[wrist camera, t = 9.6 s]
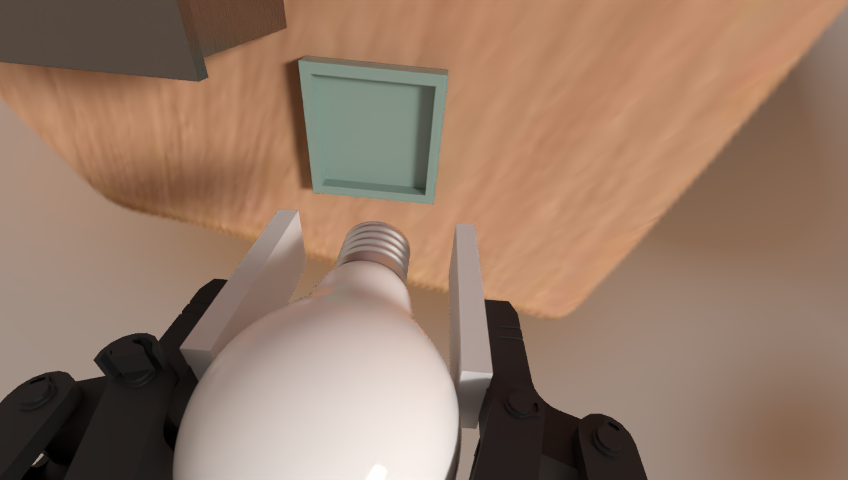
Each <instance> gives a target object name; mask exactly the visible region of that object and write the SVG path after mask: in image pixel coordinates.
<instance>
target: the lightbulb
mask: <svg viewBox="0 0 848 480" xmlns="http://www.w3.org/2000/svg"><path fill="white" fill-rule="evenodd" d="M409 258H410V245H409V242H408V240H407V238H406V237H405V236H404V234H403V233H402V232H401V231H399V230H398V229H397V228H395V227H393V226H391V225H389V224H386V223H383V222H374V221H373V222H365V223H361V224H359V225H357V226H355V227H354V228H352V229H351V230H350V231H349V233H348V234H347V236H346V238H345V241H344V243H343V246H342V248H341V251H340V253H339V256H338V259H337V261H336V263H335V266H334V268H333V270H331V271H330V272H329V273H327V274H326V275H325V276H324V277H323V278H322V279H321V280H320V281H319V282H318V284H317V285H316V286H315V288H314V289H313V290H312V292H311V293H310V294H309V295H307V296H305V297H303V298H300V299H298V300H295V301H293V302H290V303H288V304H286V305H284V306H281V307H279V308H277V309H275V310H273V311H271V312H270V313H268V314H266V315H264V316H263V317H261V318H259V319H258V320H256V321H255V322H253V323H252V324H250V325H249V326H248V327H246V328H245V329H244V330H243V331H241V332H240V333H239V334H238V335H237V336H236V337H234V338H233V339H232V340H231V341H230V342H229V343H228V344H227V345H226V346H225V347H224V348H223V349H222V351H221V352H220V353H219V354H218V355H217V356H216V358H215V359H214V360H213V361H212V363H211V364H210V365H209V367H208V368H207V369H206V371H205V372H204V374H203V375H202V377H201V379H200V380H199V382H198V384H197V385H196V387H195V389H194V391H193V393H192V395H191V397H190V399H189V401H188V404H187V406H186V409H185V411H184V414H183V417H182V420H181V423H180V426H179V430H178V434H177V438H176V443H175V449H174V457H173V473H172V479H173V480H456V477H457V472H458V467H459V462H460V454H461V441H462V428H461V415H460V408H459V402H458V397H457V393H456V390H455V386H454V383H453V380H452V378H451V375H450V373H449V370H448V368H447V366H446V364H445V362H444V360H443V358H442V357H441V355H440V353H439V352H438V350H437V348H436V347H435V345H434V344H433V343H432V341H431V340H430V339H429V337H428V336H427V335H426V333H425V332H424V331H423V330H422V329H421V327H420V326H419V325H418V324H417V323H416V321H415V320H414V317H413V311H412V304H411V299H410V296H409V293H408V291H407V288H406V279H407V272H408V265H409Z"/></svg>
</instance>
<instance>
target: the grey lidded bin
mask: <svg viewBox="0 0 848 480" xmlns="http://www.w3.org/2000/svg"><path fill="white" fill-rule="evenodd" d="M285 28H287V27H286V19H285V11H284V3H283V0H0V62H7V63H17V64H27V65H37V66H47V67H57V68H67V69H77V70H87V71H97V72H107V73H117V74H127V75H137V76H147V77H158V78H168V79H178V80H188V81H198V82H199V81H201V80H203V79H206V78H208V74H207V70H206V66H205V63H204V59H203V57H206V56H209V55H211V54H214V53H217V52H220V51H223V50H225V49H228V48H231V47H234V46H237V45H240V44H242V43H245V42H248V41H251V40H254V39H256V38H259V37H262V36H265V35H268V34H270V33H273V32H276V31H279V30H282V29H285Z"/></svg>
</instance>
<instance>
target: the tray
mask: <svg viewBox="0 0 848 480" xmlns="http://www.w3.org/2000/svg"><path fill="white" fill-rule="evenodd" d="M298 64H299V73H300V81H301V90H302V99H303V107H304V116H305V124H306V133H307V142H308V150H309V159H310V168H311V176H312V185H313V193H322V194H332V195H343V196H353V197H363V198H373V199H384V200H394V201H404V202H414V203H425V204H434V196H435V187H436V179H437V170H438V161H439V152H440V144H441V135H442V126H443V117H444V109H445V100H446V91H447V82H448V70H443V69H433V68H423V67H413V66H403V65H393V64H383V63H374V62H364V61H354V60H344V59H334V58H324V57H314V56H305V57H303V58H301V59H300V60H298Z"/></svg>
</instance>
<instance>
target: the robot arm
mask: <svg viewBox="0 0 848 480" xmlns="http://www.w3.org/2000/svg"><path fill="white" fill-rule="evenodd" d="M306 265H307V261H306V255H305V249H304V243H303V237H302V231H301V225H300V219H299V213H298V211H295V210H283V209H279V210H278V211H277V213H276V214H275V215H274V217H273V218H272V220H271V221H270V222H269V224H268V225H267V226H266V228H265V229H264V231H263V232H262V233H261V235H260V236H259V238H258V239H257V240H256V242H255V243H254V245H253V246H252V247H251V249H250V250H249V252H248V253H247V255H246V256H245V257H244V259H243V260H242V261H241V263H240V264H239V266H238V267H237V268H236V270H235V271H234V273H233V274H232V275H231V277H230V278H229V280H224V279H213V280H212V281H210V282H209V283H207V284H206V285H205V286H203V287H202V288H200V289H199V290H198V292H197V293H196V294H195V296H194V297H193V298H192V300H191V301H190V304H188V305H187V306H186V307H185V308H184V309H183V311H182V314H180V315H179V316H178V317H177V318H176V320H175V321H174V322H173V323H172V325H171V326H170V327H169V329H168V330H167V331H166V332H165V334H164V335H163V336H162V337H161V339H160V340H159V341H158V340H157V339H156V337H155V336H153V335H150V334H148V333H135V334H131V335H128V336H124V337H122V338H120V339H118V340H116V341H114V342H112V343H110V344H109V345H108V346H106V347H105V348H104V349H102V350H101V351H100V352H99V354H98V355H97V356H96V357H95V359H94V361H95V363H96V364H97V365H98V367H99V368H100V369H101V370H102V371H103V373H104V374H105V375H106V376H102V377H98V378H92V379H87V380H82V381H75V380H74V379H73V378H72V377H71V376H70V375H69V374H68V373H66V372H61V371H55V372H49V373H44V374H42V375H39V376H36V377H33V378H32V379H30V380H28V381H26V382H24V383H23V384H21V385H20V386H18V387H17V388H16V389H14V390H13V391H12V392H11V393H10V394H8V395H7V396H6V397H5V398H4V399H3V400H2V402H1V403H0V480H173V479H172V473H173V457H174V449H175V443H176V438H177V434H178V430H179V426H180V423H181V420H182V417H183V414H184V411H185V409H186V406H187V404H188V401H189V399H190V397H191V395H192V393H193V391H194V389H195V387H196V385H197V384H198V382H199V380H200V379H201V377H202V375H203V374H204V372H205V371H206V369H207V368H208V367H209V365H210V364H211V363H212V361H213V360H214V359H215V358H216V356H217V355H218V354H219V353H220V352H221V351H222V349H223V348H224V347H225V346H226V345H227V344H228V343H229V342H230V341H231V340H232V339H233V338H234V337H236V336H237V335H238V334H239V333H240V332H241V331H243V330H244V329H245V328H246V327H248V326H249V325H250V324H252V323H253V322H255V321H256V320H258V319H259V318H261V317H263V316H264V315H266V314H268V313H270V312H271V311H273V310H275V309H277V308H279V307H281V306H284V305H286V304H288V302H289V300H290V298H291V296H292V294H293V292H294V290H295V288H296V286H297V284H298V282H299V280H300V278H301V275H302V273H303V271H304V269H305V267H306ZM449 351H450V375H451V378H452V380H453V383H454V386H455V390H456V393H457V397H458V402H459V408H460V415H461V428H474V429H476V428H477V425H478V422H479V430H480V438H479V442H478V445H477V448H476V451H475V454H474V461H473V465H472V469H471V474H470V477H469V480H647V476H646V473H645V471H644V467H643V465H642V462H641V458H640V456H639V453H638V450H637V447H636V444H635V442H634V440H633V438H632V436H631V434H630V433H629V432H628V431H627V430H626V429H625V428H624V427H623V425H622V424H620V423H619V422H617V421H616V420H614V419H613V418H611V417H609V416H606V415H603V414H589V415H587V416H586V417H584V418H583V419H579V418H577V417H574V416H572V415H569V414H567V413H564V412H562V411H559V410H557V409H555V408H553V407H551V406H550V405H549V404H547V403H546V402H545V401H544V400H543V399H542V398H541V397H540V396H539V395H538V393H537V392H536V390H535V389H534V386H533V383H532V379H531V374H530V370H529V366H528V361H527V356H526V351H525V346H524V342H523V337H522V332H521V330H520V323H519V318H518V314H517V312H516V311H515V309H514V308H513V307H512V305H511V304H510V302H509V301H497V300H485V299H484V294H483V286H482V277H481V269H480V261H479V252H478V244H477V235H476V227H475V225H470V224H458V223H456V227H455V234H454V241H453V248H452V255H451V262H450V270H449ZM41 453H42V454H44V456H43V457H42V458H41V459H40V460H39V461H38V462H37V463H36V464H35V465H32V464H33V463H34V462H35V460H36V459H37V458H38V457H39V455H40V454H41Z"/></svg>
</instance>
